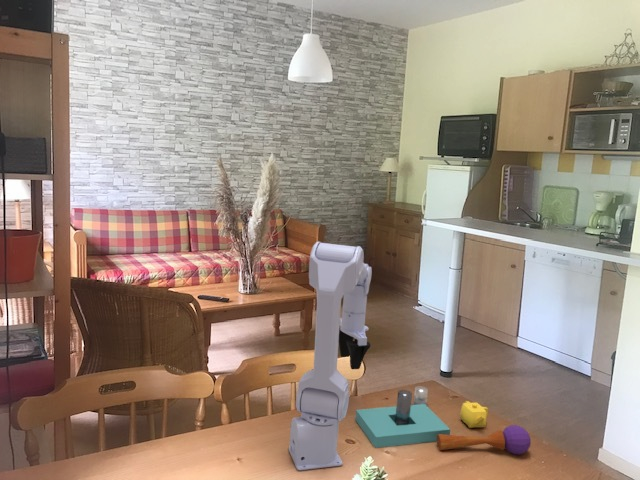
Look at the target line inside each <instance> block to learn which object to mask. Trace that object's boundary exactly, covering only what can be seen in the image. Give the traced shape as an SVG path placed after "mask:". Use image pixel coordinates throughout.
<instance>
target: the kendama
mask: <svg viewBox="0 0 640 480" xmlns="http://www.w3.org/2000/svg"><path fill="white" fill-rule="evenodd" d="M531 443H532V441H531V436H530V434H529V432H528V431H527V430H526V429H525V428H524V426H523V427H522V426H520V425H517V424H511V425H509V426H507V427H505V428H504V430H503V431H502V430H501V429H498V430H497V431H495V432H493V433H491V434H489V435H488V436H486V437H477V436H476V437H475V436H464V435H463V436H462V435H453V434H450V435H443V434H438V435H437V441H436V445H437V447H438V450H439V451H446V450H451V449H452V450H453V449H456V448H464V447H470V446H477V445H478V446H479V445H484V444H486V445H488V446H492V447H493V448H495V449H498V450H501V451H504V450H506V451H508V453H511V454H513V455H522V454H525V453H526V452H528V450H529V448H530V447H531Z"/></svg>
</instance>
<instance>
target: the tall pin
mask: <svg viewBox="0 0 640 480" xmlns="http://www.w3.org/2000/svg"><path fill="white" fill-rule="evenodd" d="M412 398H413V393H412V392H411V391H410V390H407V389H399V390H398V391H397V398H396V416H395V424H396V425H397V426H399V425H409V419H410V409H411V405H412Z"/></svg>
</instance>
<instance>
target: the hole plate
mask: <svg viewBox="0 0 640 480" xmlns="http://www.w3.org/2000/svg"><path fill="white" fill-rule="evenodd" d="M396 406H397V405H396ZM396 406H387V407H374V408H373V407H372V408H362V409H356V410H355V419H354V420H355V422H356V423H357V424H358V426H359V427H360V429H361V430H362V432H363V433H364V434H365V436H366V437H367V439H368V440H369V442H370V443H371V444H372V446H373V448H375V449H376V448H387V447H395V446H403V445H404V446H405V445H414V444H422V443H430V442H431V443H432V442H437V435H438V434H443V435H451V434H450V433H451V428H449V427H448V425H447V424H446V423H445V422H443V421H442V419H441V418H440V417H439V416H437V414H436V413H435V412H433V411H432V410H431V408H430V407H428V405H427V404H426V405H425V404H418V405H413V404H411V409H410V419H409V425H399V426H397V425H396V424H395V416H396Z"/></svg>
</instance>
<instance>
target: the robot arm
mask: <svg viewBox="0 0 640 480" xmlns="http://www.w3.org/2000/svg"><path fill="white" fill-rule="evenodd" d="M364 257H365V255H364V249H363V248H362V247H361V246H360V245H359V246H352V245H346V244H345V245H343V244H335V243H326V242H322V241H316V242H315V243H314V244H313V245H312V247H311V250H310V255H309V262H308V263H309V264H308V279H309V280H308V281H309V283H308V284H309V285H310V286H311V287H312V288H313V289H314V290H315V291H316V313H315V314H316V315H315V316H316V317H315V334H314V335H315V336H314V351H313V352H314V354H313V368H311V369H309V370H308V371H305V373H303V374H302V376H301V377H300V379H299V381H298V388H297V393H296V396H295V397H296V398H295V408H296V410H297V411H298V413H300V414H301V415H300V416H296V417H293V418H292V419H291V421H290V430H289V431H290V433H289V447H288V451H289V453H290V456H291V458H292V461H293V464H294V466H295V468H296V470H297V471H305V470H313V469H322V468H331V467H340V466H342V465H343V463H344V461H342V459H341V457H340V455H339V454H338V453H339V452H337V449H338V439H339V438H338V437H339V428H340V427H339V425H340V421H342V420H344V419H345V418H346V416H347V411H348V408H349V403H350V391H349V381H348V379H347V378H346V377H345V376H344V375H343V373H341V372H340V371H339V370H338V357H339V354H340V357H341V358H349V363H350V364H349V366H350V369H351V370H360V368H361V366H362V363H363V359H364V358H365V355H366V354H367V352H368V350H369V349H370V348H371V342H369V341H368V337H367V336H366V332H369V329H370V328H369V327H368V326H367V325H365V324H366V314H367V313H366V312H367V302H368V294H369V292H370V291H369V290H370V284H371V280H372V276H373V275H372V273H373V272H372V269H373V268H372V266H369V264H368V263H365V262H364V261H365V259H364ZM342 299H343V300H342ZM342 301H343V302H342ZM341 307H342V308H341ZM341 309H342V314H341ZM343 466H344V465H343Z"/></svg>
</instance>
